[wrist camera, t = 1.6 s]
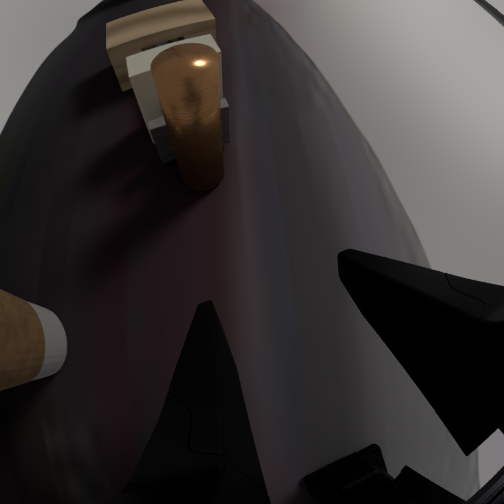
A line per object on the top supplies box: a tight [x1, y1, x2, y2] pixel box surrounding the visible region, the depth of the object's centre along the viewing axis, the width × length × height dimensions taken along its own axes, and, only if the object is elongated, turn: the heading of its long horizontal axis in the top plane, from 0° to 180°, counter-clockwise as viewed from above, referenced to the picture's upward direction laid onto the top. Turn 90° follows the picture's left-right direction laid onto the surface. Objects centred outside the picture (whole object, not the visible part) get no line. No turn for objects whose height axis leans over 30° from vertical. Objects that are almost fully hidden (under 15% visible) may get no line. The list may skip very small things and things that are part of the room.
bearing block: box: [106, 0, 216, 92], centre depth 25 cm, size 7×11×6 cm, turn 111°
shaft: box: [148, 40, 230, 191], centre depth 20 cm, size 23×6×12 cm, turn 21°
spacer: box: [126, 34, 223, 144], centre depth 21 cm, size 3×7×8 cm, turn 110°
